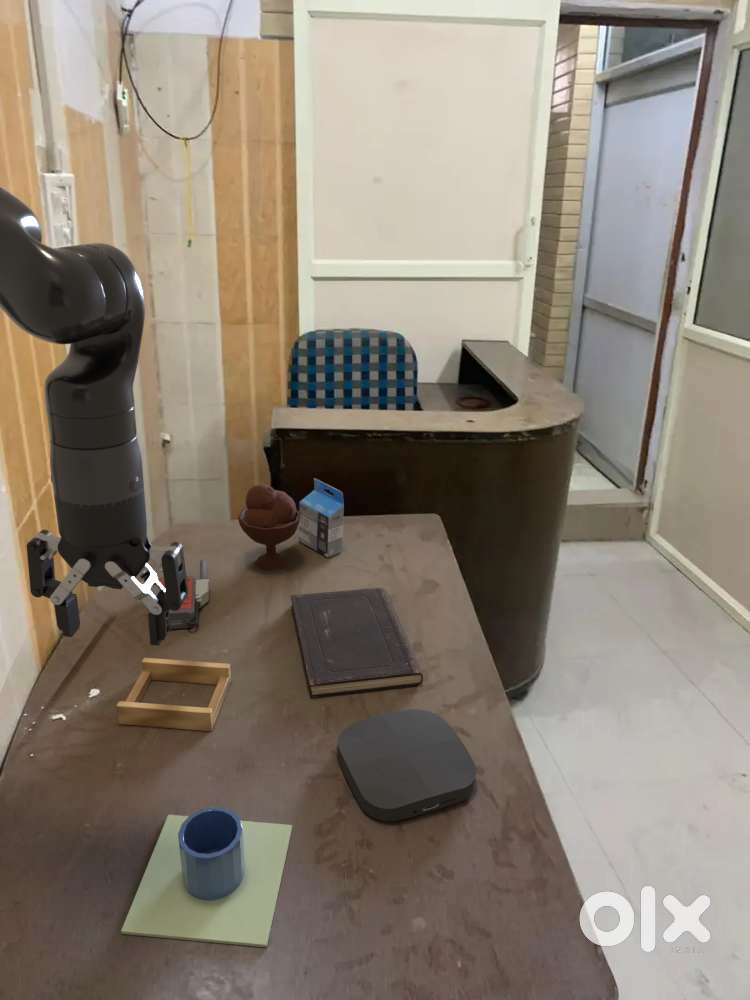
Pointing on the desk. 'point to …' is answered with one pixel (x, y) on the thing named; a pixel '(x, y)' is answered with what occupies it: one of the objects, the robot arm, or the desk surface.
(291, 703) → the desk surface
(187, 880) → the small cup
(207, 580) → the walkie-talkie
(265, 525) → the ice cream bowl
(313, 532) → the label tape box
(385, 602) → the hardcover book
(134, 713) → the tray
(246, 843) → the mat
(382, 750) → the media streaming box
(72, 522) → the robot arm
